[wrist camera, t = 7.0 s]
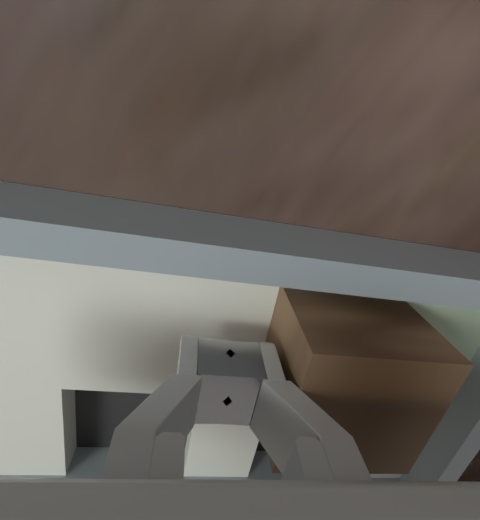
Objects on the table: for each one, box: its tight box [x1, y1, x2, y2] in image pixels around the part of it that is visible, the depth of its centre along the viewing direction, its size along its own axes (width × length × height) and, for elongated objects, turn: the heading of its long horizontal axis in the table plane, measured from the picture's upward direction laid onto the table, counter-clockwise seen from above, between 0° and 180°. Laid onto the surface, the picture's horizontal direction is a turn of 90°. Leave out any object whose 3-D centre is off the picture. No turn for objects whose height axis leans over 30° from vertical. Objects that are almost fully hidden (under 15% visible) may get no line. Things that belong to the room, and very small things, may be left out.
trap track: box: [0, 181, 480, 481], centre depth 12 cm, size 23×13×3 cm, turn 79°
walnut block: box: [265, 287, 474, 474], centre depth 11 cm, size 4×4×4 cm
